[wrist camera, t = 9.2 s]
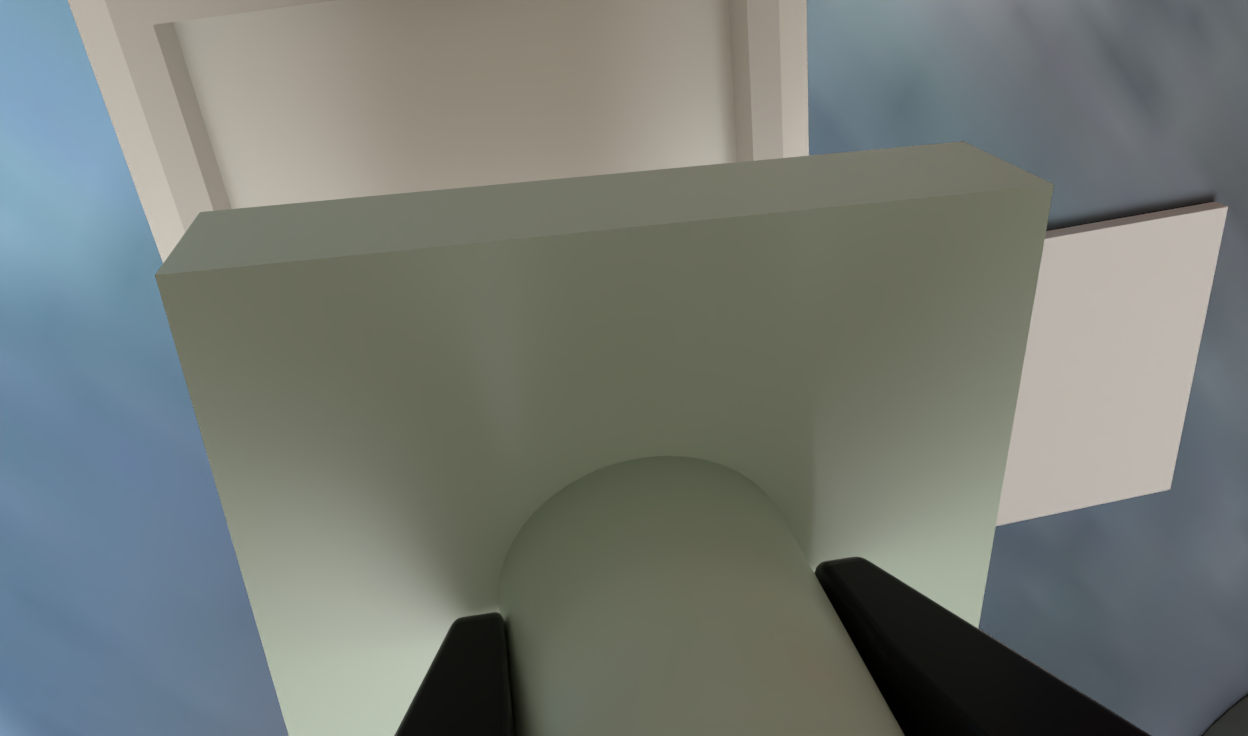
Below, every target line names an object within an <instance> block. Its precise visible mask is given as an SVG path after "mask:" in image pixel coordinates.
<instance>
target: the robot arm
mask: <svg viewBox="0 0 1248 736" xmlns="http://www.w3.org/2000/svg"><path fill="white" fill-rule="evenodd" d="M814 574H815V575H816V577H817V579H818V581H819V583H820V584H821V586H822V588H823V590H824V592H825V593H826V595H827V597H828V599H829V601H830V602H831V604H832V606H833V608H834V610H835V611H836V613H837V615H838V617H839V618H840V620H841V622H842V624H843V626H844V627H845V629H846V631H847V633H848V635H849V636H850V638H851V640H852V642H853V644H854V645H855V647H856V649H857V651H858V653H859V654H860V656H861V658H862V660H863V661H864V663H865V665H866V667H867V669H868V670H869V672H870V674H871V676H872V678H873V679H874V681H875V683H876V685H877V687H878V688H879V690H880V692H881V694H882V696H883V697H884V699H885V701H886V703H887V704H888V706H889V708H890V710H891V712H892V713H893V715H894V717H895V719H896V721H897V722H898V724H899V726H900V728H901V730H902V731H903V733H904V735H905V736H1151V735H1149V734H1148V733H1146V732H1144V731H1143V730H1141V729H1140V728H1138V727H1136V726H1135V725H1133V724H1132V723H1130V722H1128V721H1127V720H1125V719H1123V718H1122V717H1120V716H1119V715H1117V714H1115V713H1114V712H1112V711H1111V710H1109V709H1107V708H1106V707H1104V706H1103V705H1101V704H1099V703H1098V702H1096V701H1094V700H1093V699H1091V698H1090V697H1088V696H1086V695H1085V694H1083V693H1082V692H1080V691H1078V690H1077V689H1075V688H1073V687H1072V686H1070V685H1069V684H1067V683H1065V682H1064V681H1062V680H1061V679H1059V678H1057V677H1056V676H1054V675H1052V674H1051V673H1049V672H1048V671H1046V670H1044V669H1043V668H1041V667H1040V666H1038V665H1036V664H1035V663H1033V662H1031V661H1030V660H1028V659H1027V658H1025V657H1023V656H1022V655H1020V654H1019V653H1017V652H1015V651H1014V650H1012V649H1011V648H1009V647H1007V646H1006V645H1004V644H1002V643H1001V642H999V641H998V640H996V639H994V638H993V637H991V636H990V635H988V634H986V633H985V632H983V631H981V630H980V629H978V628H977V627H975V626H973V625H972V624H970V623H969V622H967V621H965V620H964V619H962V618H960V617H959V616H957V615H956V614H954V613H952V612H951V611H949V610H948V609H946V608H944V607H943V606H941V605H939V604H938V603H936V602H935V601H933V600H931V599H930V598H928V597H927V596H925V595H923V594H922V593H920V592H919V591H917V590H915V589H914V588H912V587H910V586H909V585H907V584H906V583H904V582H902V581H901V580H899V579H898V578H896V577H894V576H893V575H891V574H889V573H888V572H886V571H885V570H883V569H881V568H880V567H878V566H877V565H875V564H873V563H872V562H870V561H868V560H866V559H864V558H862V557H848V558H842V559H835V560H829V561H824V562H821V563H820V564H819V565H818V566H817V567H816V570H815V573H814ZM394 736H515V726H514V716H513V706H512V696H511V686H510V675H509V665H508V655H507V645H506V635H505V625H504V619H503V617H502V615H501V614H499V613H497V612H492V613H485V614H479V615H472V616H466V617H461V618H458V619H456V620H455V621H454V622H453V623H452V625H451V627H450V628H449V630H448V632H447V634H446V636H445V638H444V640H443V642H442V644H441V646H440V648H439V650H438V652H437V654H436V656H435V657H434V659H433V661H432V663H431V665H430V667H429V669H428V671H427V673H426V675H425V677H424V679H423V681H422V683H421V685H420V687H419V689H418V690H417V692H416V694H415V696H414V698H413V700H412V702H411V704H410V706H409V708H408V710H407V712H406V714H405V716H404V718H403V720H402V721H401V723H400V725H399V727H398V729H397V731H396V733H395V735H394Z"/></svg>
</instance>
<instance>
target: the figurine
mask: <svg viewBox="0 0 1248 736" xmlns="http://www.w3.org/2000/svg"><path fill="white" fill-rule="evenodd" d="M1203 736H1248V696H1246V697H1245V698H1243V699H1242V700H1241V701H1240V702H1238V703H1237V704H1236V705H1235V706H1233V707H1232V708H1231V709H1229V710H1228V711H1227V712H1226V713H1225V714H1224V715H1223V716H1222V717H1221V718H1219V719H1218V720H1217V721H1216V722H1215V723H1214V724H1213V725H1212V726H1211V727H1210V728H1209V729H1208V730H1207V731H1206V732H1205V734H1204V735H1203Z"/></svg>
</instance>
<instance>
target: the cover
mask: <svg viewBox="0 0 1248 736" xmlns="http://www.w3.org/2000/svg"><path fill="white" fill-rule="evenodd" d="M1053 187H1054V184H1052V183H1050V182H1048V181H1046V180H1043V179H1041V178H1039V177H1037V176H1035V175H1033V174H1031V173H1029V172H1027V171H1025V170H1022V169H1020V168H1018V167H1016V166H1014V165H1012V164H1010V163H1008V162H1006V161H1004V160H1002V159H999V158H997V157H995V156H993V155H991V154H989V153H987V152H985V151H983V150H981V149H979V148H976V147H974V146H972V145H970V144H968V143H966V142H964V141H962V142H951V143H940V144H929V145H919V146H908V147H897V148H886V149H875V150H865V151H854V152H843V153H832V154H821V155H810V156H800V157H789V158H778V159H767V160H756V161H746V162H735V163H724V164H713V165H702V166H692V167H681V168H670V169H659V170H648V171H638V172H627V173H616V174H605V175H594V176H584V177H573V178H562V179H551V180H540V181H530V182H519V183H508V184H497V185H486V186H475V187H465V188H454V189H443V190H432V191H421V192H411V193H400V194H389V195H378V196H367V197H357V198H346V199H335V200H324V201H313V202H303V203H292V204H281V205H270V206H259V207H249V208H238V209H227V210H216V211H205V212H200V213H199V214H198V215H197V217H196V218H195V220H194V221H193V222H192V224H191V225H190V227H189V228H188V229H187V231H186V232H185V234H184V235H183V236H182V238H181V239H180V241H179V242H178V243H177V245H176V246H175V248H174V249H173V251H172V252H171V253H170V255H169V256H168V258H167V259H166V260H165V262H164V263H163V265H162V266H161V267H160V269H159V270H158V272H157V273H156V274H155V277H156V280H157V284H158V287H159V291H160V294H161V298H162V301H163V305H164V308H165V311H166V315H167V318H168V322H169V325H170V329H171V332H172V336H173V339H174V342H175V346H176V349H177V353H178V356H179V360H180V363H181V366H182V370H183V373H184V377H185V380H186V384H187V387H188V391H189V394H190V397H191V401H192V404H193V408H194V411H195V415H196V418H197V421H198V425H199V428H200V432H201V435H202V439H203V442H204V446H205V449H206V452H207V456H208V459H209V463H210V466H211V470H212V473H213V476H214V480H215V483H216V487H217V490H218V494H219V497H220V501H221V504H222V507H223V511H224V514H225V518H226V521H227V525H228V528H229V531H230V535H231V538H232V542H233V545H234V549H235V552H236V556H237V559H238V562H239V566H240V569H241V573H242V576H243V580H244V583H245V587H246V590H247V593H248V597H249V600H250V604H251V607H252V611H253V614H254V617H255V621H256V624H257V628H258V631H259V635H260V638H261V642H262V645H263V648H264V652H265V655H266V659H267V662H268V666H269V669H270V672H271V676H272V679H273V683H274V686H275V690H276V693H277V697H278V700H279V703H280V707H281V710H282V714H283V717H284V721H285V724H286V727H287V731H288V734H289V736H394V735H395V733H396V731H397V729H398V727H399V725H400V723H401V721H402V720H403V718H404V716H405V714H406V712H407V710H408V708H409V706H410V704H411V702H412V700H413V698H414V696H415V694H416V692H417V690H418V689H419V687H420V685H421V683H422V681H423V679H424V677H425V675H426V673H427V671H428V669H429V667H430V665H431V663H432V661H433V659H434V657H435V656H436V654H437V652H438V650H439V648H440V646H441V644H442V642H443V640H444V638H445V636H446V634H447V632H448V630H449V628H450V627H451V625H452V623H453V622H454V621H455V620H456V619H458V618H461V617H466V616H472V615H479V614H485V613H492V612H497V613H499V614H501V615H502V617H503V619H504V625H505V635H506V645H507V655H508V665H509V675H510V686H511V696H512V706H513V716H514V726H515V736H905V735H904V733H903V731H902V730H901V728H900V726H899V724H898V722H897V721H896V719H895V717H894V715H893V713H892V712H891V710H890V708H889V706H888V704H887V703H886V701H885V699H884V697H883V696H882V694H881V692H880V690H879V688H878V687H877V685H876V683H875V681H874V679H873V678H872V676H871V674H870V672H869V670H868V669H867V667H866V665H865V663H864V661H863V660H862V658H861V656H860V654H859V653H858V651H857V649H856V647H855V645H854V644H853V642H852V640H851V638H850V636H849V635H848V633H847V631H846V629H845V627H844V626H843V624H842V622H841V620H840V618H839V617H838V615H837V613H836V611H835V610H834V608H833V606H832V604H831V602H830V601H829V599H828V597H827V595H826V593H825V592H824V590H823V588H822V586H821V584H820V583H819V581H818V579H817V577H816V575H815V574H814V573H815V570H816V567H817V566H818V565H819V564H820V563H821V562H824V561H829V560H835V559H842V558H848V557H862V558H864V559H866V560H868V561H870V562H872V563H873V564H875V565H877V566H878V567H880V568H881V569H883V570H885V571H886V572H888V573H889V574H891V575H893V576H894V577H896V578H898V579H899V580H901V581H902V582H904V583H906V584H907V585H909V586H910V587H912V588H914V589H915V590H917V591H919V592H920V593H922V594H923V595H925V596H927V597H928V598H930V599H931V600H933V601H935V602H936V603H938V604H939V605H941V606H943V607H944V608H946V609H948V610H949V611H951V612H952V613H954V614H956V615H957V616H959V617H960V618H962V619H964V620H965V621H967V622H969V623H970V624H972V625H973V626H975V627H977V628H978V627H979V621H980V615H981V609H982V603H983V598H984V592H985V586H986V580H987V574H988V568H989V562H990V556H991V551H992V545H993V539H994V533H995V527H996V521H997V515H998V510H999V504H1000V498H1001V492H1002V486H1003V480H1004V474H1005V469H1006V463H1007V457H1008V451H1009V445H1010V439H1011V433H1012V428H1013V422H1014V416H1015V410H1016V404H1017V398H1018V392H1019V387H1020V381H1021V375H1022V369H1023V363H1024V357H1025V351H1026V346H1027V340H1028V334H1029V328H1030V322H1031V316H1032V310H1033V304H1034V299H1035V293H1036V287H1037V281H1038V275H1039V269H1040V263H1041V258H1042V252H1043V246H1044V240H1045V234H1046V228H1047V222H1048V217H1049V211H1050V205H1051V199H1052V193H1053Z"/></svg>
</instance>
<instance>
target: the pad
mask: <svg viewBox="0 0 1248 736" xmlns="http://www.w3.org/2000/svg"><path fill="white" fill-rule="evenodd" d="M1227 209H1228V207H1227V206H1225V205H1223V204H1220V203H1218V202H1210V203H1204V204H1199V205H1193V206H1187V207H1182V208H1176V209H1170V210H1164V211H1159V212H1153V213H1147V214H1142V215H1136V216H1130V217H1124V218H1119V219H1113V220H1107V221H1102V222H1096V223H1090V224H1084V225H1079V226H1073V227H1067V228H1062V229H1056V230H1050V231H1046V234H1045V240H1044V246H1043V252H1042V258H1041V263H1040V269H1039V275H1038V281H1037V287H1036V293H1035V299H1034V304H1033V310H1032V316H1031V322H1030V328H1029V334H1028V340H1027V346H1026V351H1025V357H1024V363H1023V369H1022V375H1021V381H1020V387H1019V392H1018V398H1017V404H1016V410H1015V416H1014V422H1013V428H1012V433H1011V439H1010V445H1009V451H1008V457H1007V463H1006V469H1005V474H1004V480H1003V486H1002V492H1001V498H1000V504H999V510H998V515H997V521H996V526H999V525H1004V524H1009V523H1013V522H1018V521H1023V520H1028V519H1032V518H1037V517H1042V516H1047V515H1051V514H1056V513H1061V512H1066V511H1070V510H1075V509H1080V508H1085V507H1089V506H1094V505H1099V504H1104V503H1108V502H1113V501H1118V500H1123V499H1127V498H1132V497H1137V496H1142V495H1146V494H1151V493H1156V492H1161V491H1165V490H1170V488H1171V483H1172V478H1173V473H1174V468H1175V463H1176V458H1177V453H1178V448H1179V444H1180V439H1181V434H1182V429H1183V424H1184V419H1185V414H1186V409H1187V405H1188V400H1189V395H1190V390H1191V385H1192V380H1193V375H1194V370H1195V366H1196V361H1197V356H1198V351H1199V346H1200V341H1201V336H1202V331H1203V326H1204V322H1205V317H1206V312H1207V307H1208V302H1209V297H1210V292H1211V287H1212V283H1213V278H1214V273H1215V268H1216V263H1217V258H1218V253H1219V248H1220V244H1221V239H1222V234H1223V229H1224V224H1225V219H1226V214H1227Z"/></svg>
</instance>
